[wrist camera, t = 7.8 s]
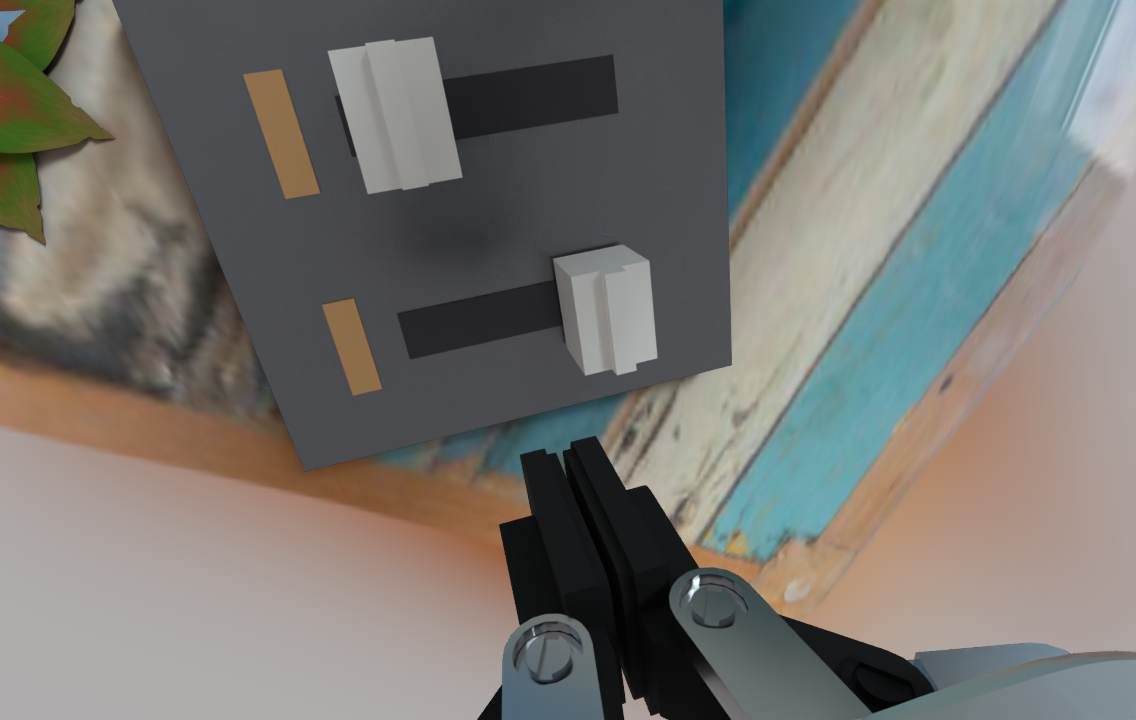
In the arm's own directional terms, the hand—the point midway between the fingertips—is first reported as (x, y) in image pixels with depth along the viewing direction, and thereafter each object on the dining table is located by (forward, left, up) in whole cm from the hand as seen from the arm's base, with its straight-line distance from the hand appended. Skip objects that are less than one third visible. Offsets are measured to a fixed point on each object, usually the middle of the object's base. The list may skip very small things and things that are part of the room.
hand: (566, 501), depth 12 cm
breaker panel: (-1, -4, -15) cm, 15 cm away
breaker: (+2, -8, -13) cm, 15 cm away
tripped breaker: (-4, 0, -13) cm, 13 cm away
